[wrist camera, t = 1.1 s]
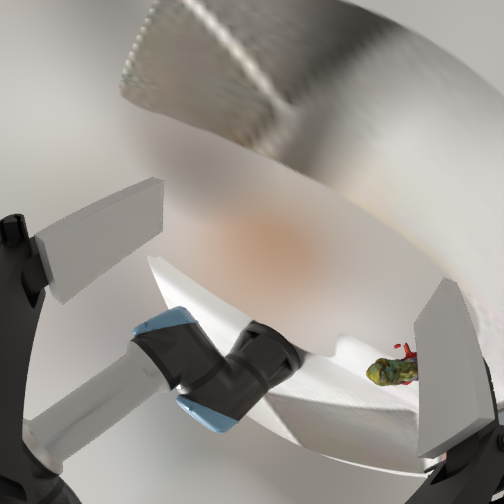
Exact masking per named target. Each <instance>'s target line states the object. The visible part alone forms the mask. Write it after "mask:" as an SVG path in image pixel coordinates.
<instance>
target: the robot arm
mask: <svg viewBox="0 0 504 504" xmlns="http://www.w3.org/2000/svg"><path fill="white" fill-rule="evenodd" d="M163 197H164V180H160V179H157V178H153V177H152V178H149V179H147V180H144V181H142V182H139V183H137V184H135V185H132V186H130V187H127V188H125V189H123V190H121V191H119V192H116V193H114V194H112V195H109V196H107V197H105V198H103V199H101V200H99V201H96V202H94V203H92V204H90V205H88V206H86V207H84V208H82V209H80V210H78V211H76V212H74V213H72V214H70V215H68V216H66V217H65V218H63V219H61V220H59V221H57V222H55V223H54V224H52V225H50V226H48V227H47V228H45V229H43V230H41V231H39V232H38V233H36V234H34V235H35V236H34V237H31V238H30V239H29V236H28V232H27V227H26V223H25V218H24V215H22V214H13V215H9V216H7V217H5V218H3V219H1V220H0V504H82V503H81V501H80V500H79V498H78V497H77V496H76V494H75V493H74V492H73V490H72V489H71V488H70V487H69V486H68V485H67V484H66V483H65V482H64V480H62V479H61V478H60V477H59V475H60V474H61V473H62V472H63V465H62V463H63V461H64V460H66V459H67V458H69V457H70V456H71V455H73V454H74V453H76V452H77V451H79V450H80V449H81V448H83V447H84V446H86V445H87V444H89V443H90V442H91V441H93V440H94V439H95V438H97V437H98V436H100V435H101V434H102V433H103V432H105V431H106V430H108V429H109V428H110V427H112V426H113V425H114V424H116V423H117V422H118V421H120V420H121V419H122V418H124V417H125V416H126V415H127V414H129V413H130V412H131V411H132V410H134V409H135V408H136V407H137V406H139V405H140V404H141V403H143V402H144V401H145V400H146V399H148V398H149V397H150V396H152V395H153V394H154V393H155V392H165V393H169V392H170V391H171V390H172V389H174V388H175V389H176V390H177V392H178V393H179V394H180V395H178V396H177V398H176V402H177V403H178V404H179V405H180V406H181V407H182V408H183V409H184V410H185V411H186V412H187V413H188V414H190V415H191V416H192V417H193V418H195V419H196V420H197V421H199V422H200V423H201V424H203V425H204V426H206V427H207V428H209V429H210V430H212V431H214V432H217V433H225V432H227V431H228V430H229V429H230V428H232V427H233V426H234V425H235V424H237V423H239V421H240V420H241V419H242V418H243V417H244V416H245V415H246V414H247V413H248V412H249V410H250V409H251V408H252V407H253V406H254V405H255V404H256V403H257V402H258V401H259V400H260V399H261V398H262V397H263V396H264V395H265V394H266V393H267V391H268V390H270V389H271V388H273V387H275V386H276V385H278V384H280V383H282V382H283V381H285V380H287V379H289V378H290V377H291V376H293V374H294V373H295V372H296V371H297V370H298V368H299V358H298V355H297V353H296V351H295V350H294V348H293V347H292V345H291V344H290V343H289V342H288V341H287V340H286V339H285V338H284V337H283V336H282V335H281V334H280V333H278V332H277V331H276V330H274V329H272V328H270V327H269V326H266V325H264V324H260V323H251V324H249V325H248V326H247V327H246V328H245V329H243V330H242V332H241V333H240V335H239V337H238V338H237V340H236V342H235V344H234V346H233V348H232V349H231V351H230V353H229V354H228V355H226V356H225V357H223V356H222V354H221V353H220V352H219V350H218V349H217V348H216V347H215V345H214V344H213V343H212V341H211V340H210V339H209V337H208V336H207V334H206V333H205V332H204V330H203V329H202V328H201V326H200V325H199V322H198V321H197V320H195V319H194V317H193V316H192V315H191V314H190V312H189V311H188V310H187V309H186V308H184V307H181V306H178V307H174V308H172V309H170V310H167V311H165V312H163V313H161V314H159V315H157V316H155V317H153V318H151V319H150V320H148V321H146V322H144V323H143V324H140V325H139V326H137V327H135V328H134V329H133V330H132V333H133V336H134V337H135V338H133V339H132V340H131V341H129V342H128V344H127V352H126V354H125V355H124V356H123V357H121V358H120V359H119V360H117V361H116V362H114V363H113V364H112V365H110V366H108V367H107V368H106V369H104V370H103V371H101V372H100V373H99V374H97V375H96V376H94V377H93V378H92V379H90V380H89V381H87V382H86V383H84V384H83V385H81V386H80V387H79V388H77V389H76V390H74V391H73V392H72V393H70V394H69V395H67V396H66V397H64V398H63V399H61V400H60V401H59V402H57V403H56V404H54V405H53V406H51V407H50V408H49V409H47V410H46V411H44V412H43V413H41V414H40V415H39V416H37V417H36V418H34V419H32V420H30V421H29V420H26V419H24V418H23V409H24V398H25V387H26V381H27V374H28V366H29V361H30V356H31V351H32V346H33V341H34V337H35V332H36V328H37V324H38V319H39V316H40V312H41V309H42V306H43V302H44V299H45V294H46V292H45V289H44V287H45V286H47V285H48V284H49V287H50V289H51V293H52V295H53V297H54V298H55V299H57V300H58V301H59V302H60V303H61V304H62V305H63V304H65V303H66V302H67V301H69V300H70V299H71V298H72V297H74V296H75V295H76V294H77V293H79V292H80V291H81V290H82V289H84V288H85V287H86V286H88V285H89V284H90V283H92V282H93V281H94V280H95V279H97V278H98V277H99V276H101V275H102V274H103V273H105V272H106V271H107V270H108V269H110V268H111V267H112V266H114V265H115V264H117V263H118V262H120V261H121V260H122V259H124V258H125V257H126V256H128V255H129V254H131V253H132V252H133V251H135V250H136V249H138V248H139V247H140V246H142V245H143V244H145V243H146V242H148V241H149V240H151V239H152V238H153V237H155V236H156V235H158V234H159V233H161V232H162V231H163ZM414 330H415V339H416V349H417V360H418V376H419V438H418V452H417V457H418V458H431V459H434V458H436V457H438V456H439V455H441V454H443V453H445V452H446V459H445V460H443V461H441V462H439V463H437V464H435V465H433V466H431V467H429V468H427V469H426V470H425V471H424V473H427V472H430V471H432V470H434V471H433V472H432V473H431V474H430V475H428V478H427V479H426V481H425V482H424V483H423V484H422V485H421V487H420V488H419V489H418V490H417V491H416V492H415V493H414V494H413V495H412V496H411V497H410V499H409V500H408V501H407V502H406V503H405V504H504V495H503V497H502V498H499V499H497V500H495V501H491V499H492V496H493V495H495V494H497V493H499V492H501V491H503V490H504V425H500V424H499V417H498V410H497V404H496V398H495V393H494V391H493V389H494V388H493V383H492V382H491V380H492V379H491V374H490V370H489V367H488V365H487V363H486V361H485V359H484V358H483V357H482V353H481V349H480V346H479V343H478V339H477V336H476V333H475V330H474V327H473V324H472V321H471V318H470V316H469V312H468V310H467V307H466V304H465V302H464V300H463V297H462V294H461V292H460V289H459V287H458V285H457V283H456V282H454V281H452V280H449V279H447V278H445V277H444V278H443V279H442V281H441V283H440V284H439V286H438V288H437V289H436V291H435V292H434V294H433V296H432V297H431V299H430V300H429V302H428V304H427V305H426V307H425V308H424V310H423V311H422V313H421V314H420V315H419V317H418V319H417V320H416V321H415V323H414Z"/></svg>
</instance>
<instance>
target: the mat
mask: <svg viewBox="0 0 504 504" xmlns="http://www.w3.org/2000/svg"><path fill="white" fill-rule="evenodd" d="M498 417H499V424H500V425H504V408H503V409H501V410H499V411H498Z"/></svg>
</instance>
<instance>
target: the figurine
mask: <svg viewBox="0 0 504 504" xmlns="http://www.w3.org/2000/svg"><path fill="white" fill-rule="evenodd" d="M400 346H401V345H400V344H397V345H395V346H394V348H398V347H400ZM404 349H405V352H406V357H405V358H404V359H401V360H399V359H396V360H387V359H384V358H380V359H378V360H376V362H375V363H374V364H372V365H371V366H370V367H369V368H368V370H367V371H366V375H367V377H368V378H369V379H370V380H372V381H373V382H374V383H375V384H377V385H379V386H388V385H399V384H403V385H408V384H410V383H411V382H412V381H413V380H414V381H418V380H419V376H418V360H417V352H415V353H413V352H411V351H410V349H409V346H408V344H407V343H405V345H404Z"/></svg>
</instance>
